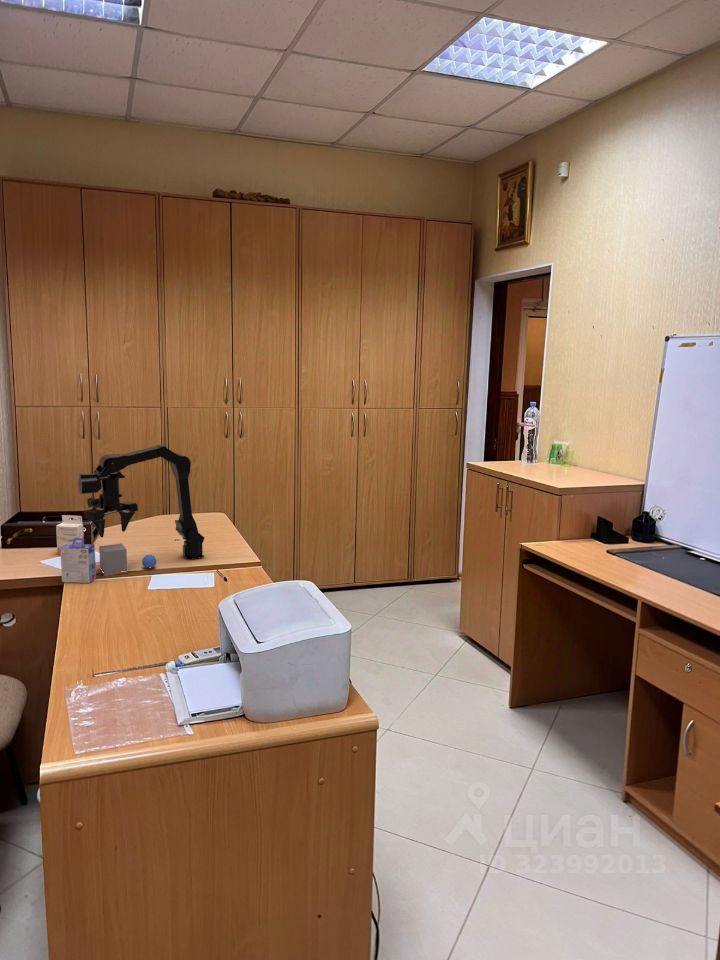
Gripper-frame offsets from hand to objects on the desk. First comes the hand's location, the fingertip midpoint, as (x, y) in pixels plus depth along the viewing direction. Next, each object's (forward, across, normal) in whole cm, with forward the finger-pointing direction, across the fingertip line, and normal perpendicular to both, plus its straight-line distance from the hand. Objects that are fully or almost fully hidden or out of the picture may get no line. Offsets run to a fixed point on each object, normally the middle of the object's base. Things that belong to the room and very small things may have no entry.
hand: (112, 534), depth 240 cm
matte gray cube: (+13, +1, +1) cm, 13 cm away
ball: (+11, -8, +9) cm, 16 cm away
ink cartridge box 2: (+13, +14, -1) cm, 19 cm away
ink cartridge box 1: (+13, -3, -28) cm, 31 cm away
